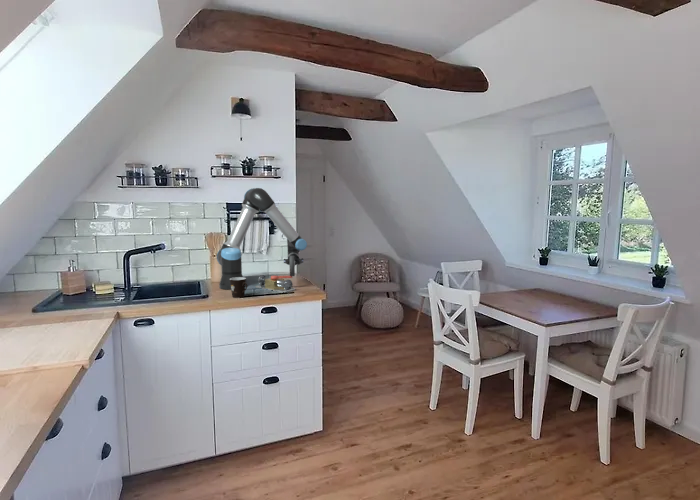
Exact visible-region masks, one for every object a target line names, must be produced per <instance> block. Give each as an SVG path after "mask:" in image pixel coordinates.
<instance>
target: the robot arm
mask: <svg viewBox="0 0 700 500" xmlns="http://www.w3.org/2000/svg"><path fill="white" fill-rule="evenodd" d="M275 204H276V203H275V201H274V199H273V198H272V197H271V196H270V194H269V193H268V192H267V191H266V190H265V189H263V188H260V187H256V188H255V187H254V188H249V189H248V190H247V191H246V192H245V193H244V195H243V201H242V203H241V206H242V208H241V210H240V212H239V213H240V214H239V215H238V218H237V219H236V221H235V224H234V226H233V227H232V230H231V232H230V235H229V237H228V239H227V241H226V242H223V244H222V246H221V248H220V249H219V250H218V251H217V254H216V260H217V262H218V264H219V265H220V266H221V276H220V277H221V278H220V281H219V289H220V290H231V285H230V278H235V277H244V275H243V271H242V270H243V267H242V251H241V245H242V243H243V241H244V239H245V237H246V234H247V232H248V230H249V228H250V226H251V224H252V221H253V219H254V218H255V215H256V214H257V213H259V212H262V213H265V214H266V215H267V217H269V219H270V220H271V222H273V223H274V225H275V226H276V227H277V228H278V230H280V232H281V233H282V235H284V237H285V238H286V243H287V244H286V245H287V246H286V248H287V258H284V259H283V264H286V265H288V266H290V264H289V256H294V261H295V266H296V265H297V266H298V265H301V264H302V263H304V258H300V253H299V251H305V250H306V248H307V246H308V243H307V241H306V239H304V238H302V237H301V236H300V234H299V233H298V231H296V229H295V228H294V227H293V225H292V224H291V223H290V222H289V220H287V218H286V217H285V216H284V215H283V213H282V212H281V210H279V208H278V207H277V206H276V205H275Z"/></svg>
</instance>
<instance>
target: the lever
mask: <svg viewBox="0 0 700 500" xmlns="http://www.w3.org/2000/svg"><path fill="white" fill-rule="evenodd" d="M289 264H290V265H289V275H270V278H271V279H279V278H282V279H293V277H295V275H296V274H295V273H296V270H295V269H296V265H295V261H294V256H289Z"/></svg>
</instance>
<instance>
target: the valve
mask: <svg viewBox="0 0 700 500" xmlns="http://www.w3.org/2000/svg"><path fill="white" fill-rule="evenodd" d="M257 283H258V285H255V286H254V287H256V289H260V288H262V289H261V290H265V289H268V290H267V291H271V290H273V291H272V292H276V291H277V292H276V293H281V294H282V293H283V292H284V293H286V292H287V291H288V292H292V291H294V290H296V288H293V281H292V280H291V279H286V280H285V278H279V279H271V277H266V275H259V276H258V278H257Z"/></svg>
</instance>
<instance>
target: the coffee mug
mask: <svg viewBox="0 0 700 500" xmlns="http://www.w3.org/2000/svg"><path fill="white" fill-rule="evenodd" d="M246 280H247V278H246V277H244V276H243V277H235V278H230V285H231V289H230V290H231V297H232V298H234V299H241V298H244V297H245V296H246V295H245V294H246V290H247V288H248V283H247V281H246Z"/></svg>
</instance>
